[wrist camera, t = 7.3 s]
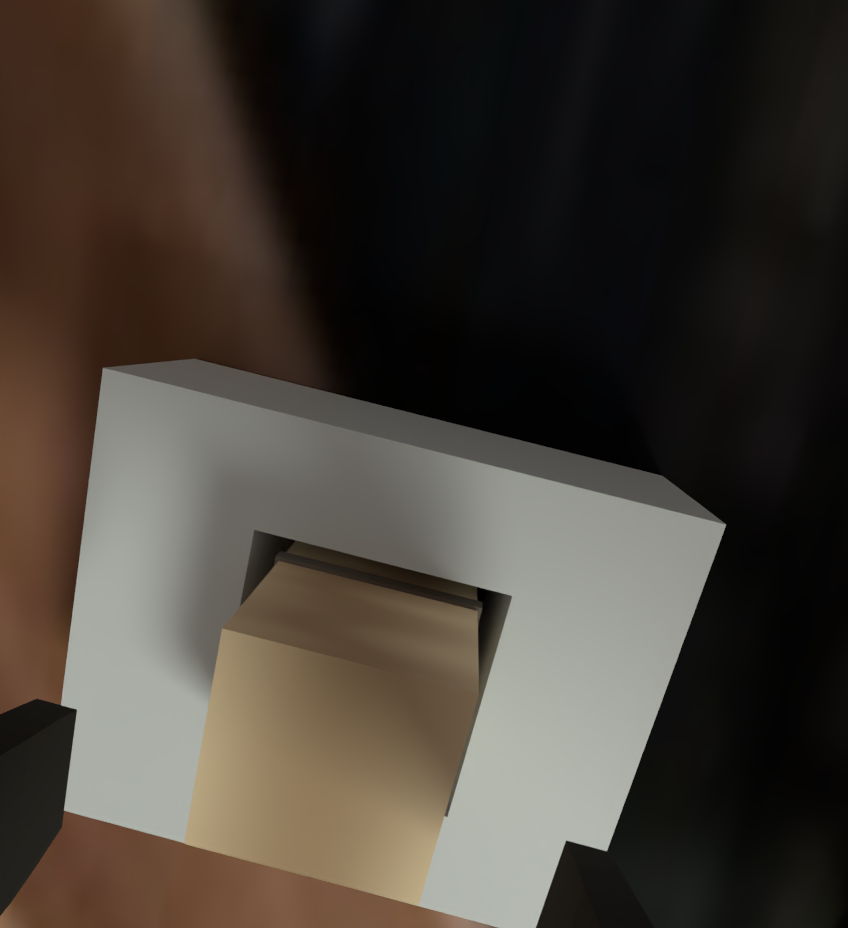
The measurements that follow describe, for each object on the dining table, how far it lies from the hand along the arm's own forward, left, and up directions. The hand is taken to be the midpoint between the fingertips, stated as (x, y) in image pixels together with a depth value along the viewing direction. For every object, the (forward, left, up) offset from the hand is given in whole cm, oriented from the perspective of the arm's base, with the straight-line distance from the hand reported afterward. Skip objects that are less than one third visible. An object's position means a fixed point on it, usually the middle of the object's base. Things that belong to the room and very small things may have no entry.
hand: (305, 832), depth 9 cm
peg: (0, 0, -8) cm, 8 cm away
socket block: (0, 0, -8) cm, 8 cm away
